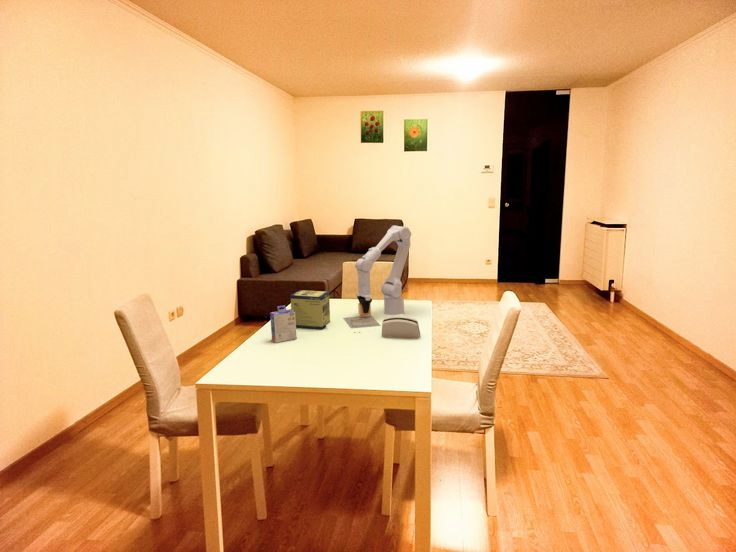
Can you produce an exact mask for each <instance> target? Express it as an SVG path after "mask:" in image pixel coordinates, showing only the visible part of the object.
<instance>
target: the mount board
mask: <svg viewBox="0 0 736 552" xmlns="http://www.w3.org/2000/svg"><path fill="white" fill-rule="evenodd" d="M371 317H373V316H372V315H364V316H360V315H359V316H351V317H350V316H348V317H343V318H342V319H343V320H344V321H345V323H346V324H347V325H348V327H349V328H350V329H359V328H360V329H361V328H372V327H382V324H380V323H379V322H378V321H377V320H376V319H375V318H374V317H373V319H374V321H377V325H371V326H360V327H353V326H352V325H351V323H350V319H359V318H371Z"/></svg>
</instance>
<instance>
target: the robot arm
mask: <svg viewBox="0 0 736 552" xmlns="http://www.w3.org/2000/svg"><path fill="white" fill-rule="evenodd" d="M411 236H412V232H411V229H409V227H408V226H403V225H402V226H399V225H396V224H395V225H391V227H390V228H389V229H388V230H387V232H386V234H385V235H384V236H383V237H382V239H381V240H380V241H379V243H377V244H376V246H372V247H370V248H368V251H367V252H366V253H365V254H364V255H362V257H361V258H358V259H357V261H356V262H355V264H354V267H355V269H356V271H357V291H358V292H357V293H355V296H356V298H357V300H358V303H362V307H363V312H364V313H368V312H369V307H370V305H371V303H372V301H373V299H372V298H371V276H370V275H371V273H370V271H371V270H372V269H373V266H374V263H375V262H376V261H377V260H378V259H380V257H381V255H382V251H383V250H385V249H386V248H387V247H388V245H390V244H392V242H396V244H397V246H398V247H397V249H396V253H395V257H394V260H393V263H392V266H391V270H390V272H389V273H390V274H389V275H388V277H386V278H385V280H384V283H383V284H382V285H381V287H380V292H381V293H382V295H383V302H384V303H383V308H384V309H383V310H384V311H383V312H384V314H385V315H387V316H388V315H390V316H393V315H394V316H395V315H400V314H401V315H402V314H403V315H405V301H404V297H403V296H401V295H402V292H403V291H402V290H403V289H402V286H403V283H402V281H401V278H402V274H403V270H404V269H405V268H404V267H405V264H406V261H407V257H408V254H409V252H410V251H409V250H410V248H411Z"/></svg>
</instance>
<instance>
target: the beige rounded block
mask: <svg viewBox="0 0 736 552" xmlns="http://www.w3.org/2000/svg"><path fill="white" fill-rule="evenodd" d="M381 337H392V338H393V337H397V338H416V339H417V338H418V339H420V337H421V331H420V326H419V321H418V320H417V319H415V318H411V317H408V316H401V315H399V316H389V317H385V318H383V320H382V323H381Z"/></svg>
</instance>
